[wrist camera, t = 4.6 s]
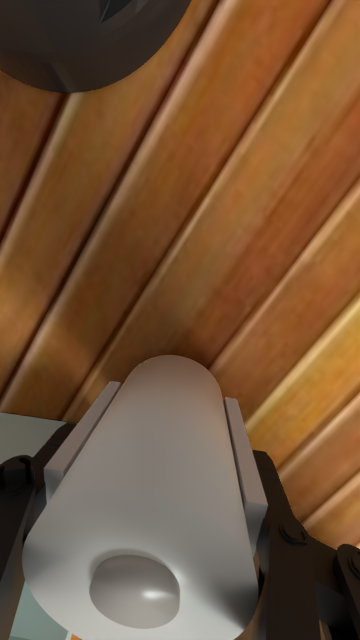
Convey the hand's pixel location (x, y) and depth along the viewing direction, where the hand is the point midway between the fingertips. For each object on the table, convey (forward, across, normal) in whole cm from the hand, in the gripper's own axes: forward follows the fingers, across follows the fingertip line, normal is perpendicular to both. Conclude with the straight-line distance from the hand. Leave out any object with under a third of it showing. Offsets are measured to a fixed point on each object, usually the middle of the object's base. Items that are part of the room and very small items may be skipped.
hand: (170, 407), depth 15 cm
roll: (+1, 0, 0) cm, 1 cm away
